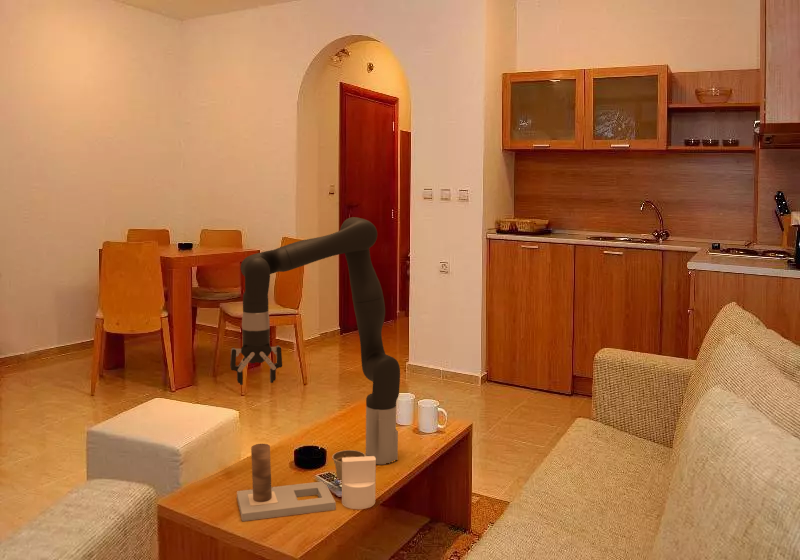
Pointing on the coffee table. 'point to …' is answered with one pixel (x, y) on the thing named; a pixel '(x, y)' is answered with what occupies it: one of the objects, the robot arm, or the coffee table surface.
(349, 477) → the base with upright slab
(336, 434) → the coffee table surface
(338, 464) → the flower pot
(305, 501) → the board
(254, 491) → the walnut cylinder
